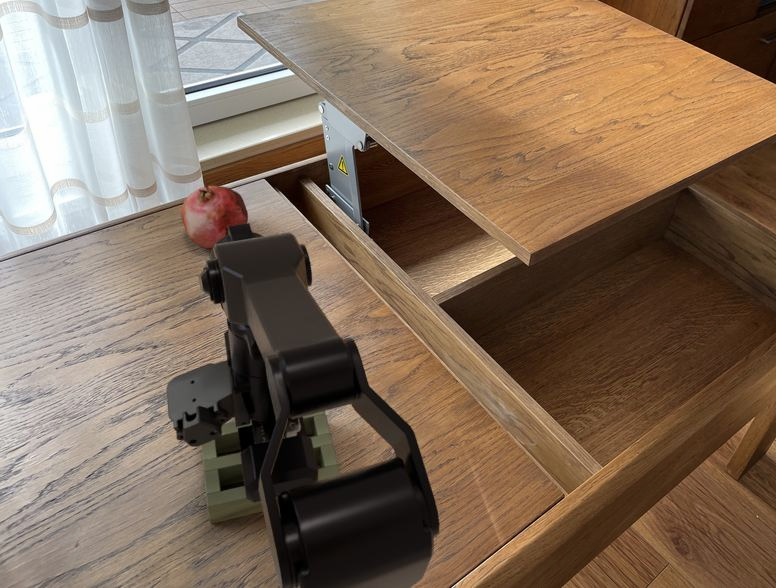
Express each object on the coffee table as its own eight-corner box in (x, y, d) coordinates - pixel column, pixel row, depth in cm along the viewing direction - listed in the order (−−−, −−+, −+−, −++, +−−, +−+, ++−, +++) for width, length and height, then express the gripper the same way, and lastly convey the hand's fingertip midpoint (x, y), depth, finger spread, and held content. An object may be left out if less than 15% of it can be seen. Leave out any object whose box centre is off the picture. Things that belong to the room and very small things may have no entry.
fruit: (247, 214, 110) (243, 161, 104) (251, 256, 103) (247, 201, 97) (184, 218, 107) (176, 164, 101) (183, 261, 101) (174, 205, 94)
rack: (340, 492, 78) (341, 475, 75) (210, 524, 73) (207, 507, 71) (323, 421, 84) (323, 403, 82) (202, 446, 79) (199, 428, 77)
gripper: (161, 291, 67) (181, 393, 77) (172, 464, 54) (194, 560, 64) (283, 275, 70) (287, 374, 80) (320, 433, 58) (318, 528, 68)
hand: (271, 451), depth 73 cm, fingers closed
